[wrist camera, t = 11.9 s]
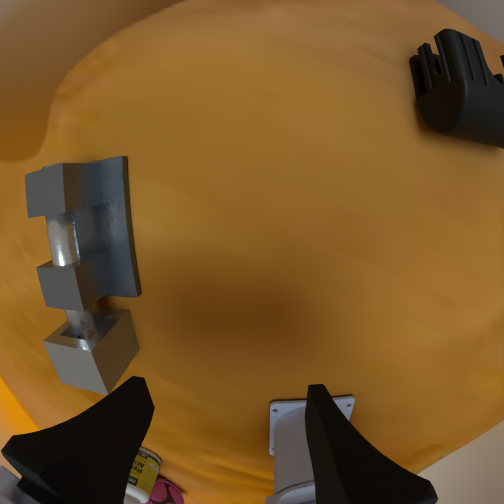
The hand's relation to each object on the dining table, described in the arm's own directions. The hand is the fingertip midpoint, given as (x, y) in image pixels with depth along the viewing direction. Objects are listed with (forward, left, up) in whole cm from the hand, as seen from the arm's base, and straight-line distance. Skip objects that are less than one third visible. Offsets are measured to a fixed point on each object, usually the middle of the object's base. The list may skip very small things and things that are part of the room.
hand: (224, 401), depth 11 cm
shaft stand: (+3, +12, -10) cm, 16 cm away
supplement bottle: (-24, +15, -10) cm, 30 cm away
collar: (-3, +12, -10) cm, 16 cm away
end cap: (+16, -18, -10) cm, 26 cm away
